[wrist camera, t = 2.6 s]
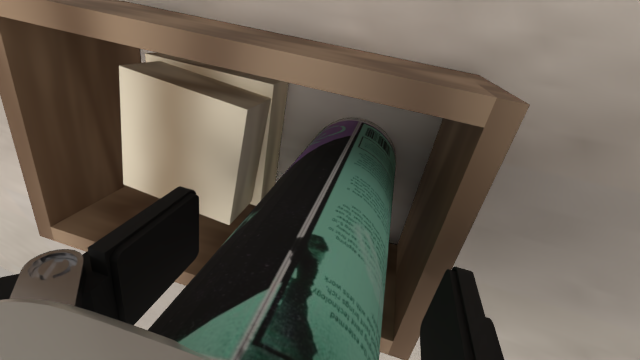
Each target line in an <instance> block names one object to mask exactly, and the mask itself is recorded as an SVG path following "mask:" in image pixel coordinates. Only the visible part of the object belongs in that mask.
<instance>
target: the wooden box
mask: <svg viewBox="0 0 640 360" xmlns="http://www.w3.org/2000/svg"><path fill="white" fill-rule="evenodd" d="M140 49H145V50H149V51H153V52H158V53H162V54H166V55H171V56H175V57H180V58H184V59H188V60H193V61H197V62H201V63H206V64H210V65H214V66H219V67H223V68H227V69H232V70H236V71H240V72H245V73H249V74H253V75H258V76H262V77H267V78H271V79H275V80H280V81H284V82H288V83H293V84H297V85H301V86H306V87H310V88H314V89H319V90H323V91H327V92H332V93H336V94H340V95H345V96H349V97H353V98H358V99H362V100H367V101H371V102H375V103H380V104H384V105H388V106H393V107H397V108H401V109H406V110H410V111H414V112H419V113H423V114H427V115H432V116H436V117H440V118H443V120H442V123H441V125H440V128H439V131H438V134H437V137H436V139H435V142H434V145H433V148H432V150H431V153H430V156H429V159H428V162H427V164H426V167H425V170H424V173H423V176H422V178H421V181H420V184H419V187H418V189H417V192H416V195H415V198H414V201H413V203H412V206H411V209H410V212H409V215H408V217H407V220H406V223H405V226H404V228H403V231H402V234H401V237H400V240H399V242H398V245H394V244H391V243H389V246H388V258H387V270H386V281H385V293H384V305H383V316H382V328H381V339H380V351H379V352H382V353H385V354H388V355H391V356H394V357H397V358H400V359H403V360H408V359H409V357H410V355H411V353H412V351H413V349H414V347H415V345H416V342H417V340H418V338H419V336H420V327H421V323H422V320H423V318H424V316H425V314H426V312H427V310H428V307H429V305H430V303H431V301H432V299H433V297H434V295H435V292H436V290H437V288H438V286H439V284H440V282H441V280H442V277H443V275H444V273H445V271H446V270H447V269H450V270H451V269H452V267H453V265H454V263H455V261H456V259H457V256H458V254H459V252H460V250H461V248H462V246H463V244H464V242H465V240H466V238H467V235H468V233H469V231H470V229H471V227H472V225H473V223H474V221H475V219H476V217H477V215H478V212H479V210H480V208H481V206H482V204H483V202H484V200H485V198H486V196H487V194H488V191H489V189H490V187H491V185H492V183H493V181H494V179H495V177H496V175H497V173H498V170H499V168H500V166H501V164H502V162H503V160H504V158H505V156H506V154H507V152H508V149H509V147H510V145H511V143H512V141H513V139H514V137H515V135H516V133H517V131H518V129H519V126H520V124H521V122H522V120H523V118H524V116H525V114H526V112H527V110H528V108H529V104H527V103H526V102H524V101H522V100H521V99H519V98H517V97H515V96H514V95H512V94H510V93H509V92H507V91H505V90H503V89H502V88H500V87H498V86H497V85H495V84H493V83H491V82H490V81H488V80H486V79H485V78H483V77H481V76H479V75H476V74H471V73H466V72H461V71H456V70H452V69H447V68H442V67H437V66H432V65H428V64H423V63H418V62H413V61H408V60H403V59H399V58H394V57H389V56H384V55H379V54H375V53H370V52H365V51H360V50H355V49H351V48H346V47H341V46H336V45H331V44H327V43H322V42H317V41H312V40H307V39H303V38H298V37H293V36H288V35H283V34H278V33H274V32H269V31H264V30H259V29H254V28H250V27H245V26H240V25H235V24H230V23H226V22H221V21H216V20H211V19H206V18H202V17H197V16H192V15H187V14H182V13H178V12H173V11H168V10H163V9H158V8H154V7H149V6H144V5H139V4H134V3H129V2H125V1H118V0H0V95H1V99H2V102H3V106H4V110H5V113H6V117H7V120H8V124H9V127H10V131H11V134H12V138H13V141H14V145H15V149H16V152H17V156H18V159H19V163H20V166H21V170H22V173H23V177H24V181H25V184H26V188H27V191H28V195H29V198H30V202H31V205H32V209H33V213H34V216H35V220H36V223H37V227H38V230H39V234H40V236H42V237H45V238H48V239H51V240H54V241H57V242H60V243H63V244H66V245H69V246H71V247H74V248H77V249H80V250H83V251H86V252H87V251H88V247H89V246H91V245H92V244H94V243H95V242H97V241H98V240H99V239H101V238H102V237H104V236H105V235H107V234H108V233H110V232H111V231H113V230H114V229H116V228H117V227H119V226H120V225H122V224H123V223H125V222H126V221H128V220H129V219H131V218H132V217H134V216H135V215H137V214H138V213H140V212H141V211H143V210H144V209H146V208H147V207H149V206H150V205H152V204H153V203H155V202H156V201H157V200H159V199H160V198H157V197H155V196H152V195H150V194H147V193H144V192H142V191H139V190H137V189H134V188H132V187H129V186H126V185H124V184H123V164H122V136H121V109H120V82H119V65H128V64H137V63H141V60H140ZM255 207H256V206H255V205H252V204H249V205H248V206H247V207H246V208H245V209H244V210H243V211H242V212H241V213H240V214H239V215H238V217H237V218H236V219H235V220H234V221H233V222H232V223H231V224H230V225H227V224H225V223H222V222H220V221H217V220H214V219H212V218H209V217H207V216H204V215H201V214H199V253H198V256H197V257H196V259H195V260H194V261H193V262H192V263H191V264H190V265H189V266H188V268H187V269H186V270H185V271H184V272H183V273H182V274H181V275H180V276H179V277H178V278H177V279H176V280H175V281H174V282H177V283H180V284H183V285H186V286H187V285H188V284H189V282H190V281H191V280H192V279H193V278H194V277H195V276H196V274H197V273H198V272H199V271H200V270H201V269H202V267H203V266H204V265H205V264H206V263H207V262H208V261H209V259H210V258H211V257H212V256H213V255H214V254H215V253H216V251H217V250H218V249H219V248H220V247H221V246H222V245H223V243H224V242H225V241H226V240H227V239H228V238H229V237H230V235H231V234H232V233H233V232H234V231H235V230H236V228H237V227H238V226H239V225H240V224H241V223H242V222H243V220H244V219H245V218H246V217H247V216H248V215H249V214H250V212H251V211H252V210H253V209H254V208H255Z"/></svg>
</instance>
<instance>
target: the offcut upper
mask: <svg viewBox="0 0 640 360" xmlns="http://www.w3.org/2000/svg"><path fill="white" fill-rule="evenodd" d="M119 82H120V109H121V136H122V164H123V184H124V185H126V186H129V187H132V188H134V189H137V190H139V191H142V192H144V193H147V194H150V195H152V196H155V197H157V198H162V197H163V196H165V195H166V194H168V193H169V192H171V191H172V190H174V189H175V188H177V187H179V186H181V187H185V188H188V189H192V190H194V191H195V192H196V195H198V196H199V214H201V215H204V216H207V217H209V218H212V219H214V220H217V221H220V222H222V223H225V224H227V225H230V224H231V223H232V222H233V221H234V220H235V219H236V218H237V217H238V215H239V214H240V213H241V212H242V211H243V210H244V209H245V208H246V207H247V206H248V205H249V204H250V202H251V201H252V197H253V192H254V187H255V182H256V176H257V171H258V166H259V161H260V155H261V150H262V145H263V140H264V134H265V129H266V124H267V118H268V113H269V108H270V103H271V98H269V97H266V96H263V95H260V94H257V93H254V92H251V91H248V90H245V89H242V88H239V87H236V86H233V85H230V84H227V83H224V82H221V81H219V80H216V79H213V78H210V77H207V76H204V75H201V74H198V73H195V72H192V71H189V70H186V69H183V68H180V67H177V66H174V65H171V64H168V63H165V62H162V61H154V62H145V63H137V64H128V65H119Z"/></svg>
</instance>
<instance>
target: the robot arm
mask: <svg viewBox="0 0 640 360" xmlns="http://www.w3.org/2000/svg"><path fill="white" fill-rule="evenodd" d="M198 253H199V196H198V195H196V192H195V191H194V190H192V189H188V188H185V187H181V186H179V187H177V188H175V189H174V190H172V191H171V192H169V193H168V194H166V195H165V196H163V197H162V198H160V199H159V200H157V201H156V202H155V203H153V204H152V205H150V206H149V207H147V208H146V209H144V210H143V211H141V212H140V213H138V214H137V215H135V216H134V217H132V218H131V219H129V220H128V221H126V222H125V223H123V224H122V225H120V226H119V227H117V228H116V229H114V230H113V231H111V232H110V233H108V234H107V235H105V236H104V237H102V238H101V239H99V240H98V241H97V242H95V243H94V244H92V245H91V246H89V247H88V251H87V252H86V253H84V254H83V255H82V254H81V253H80V252H77V251H75V250H70V249H59V250H54V251H49V252H46V253H43V254H40V255H38V256H36V257H35V258H33V259H31V260H30V261H29V262H27V263H26V264H25V265H24V267H23V268H22V270H21V272H20V274H16V275H11V276H6V277H1V278H0V360H213V359H210V358H208V357H206V356H204V355H202V354H199V353H197V352H195V351H193V350H191V349H189V348H187V347H185V346H184V345H182V344H180V343H178V342H176V341H174V340H172V339H169V338H167V337H164V336H161V335H158V334H156V333H153V332H150V331H147V330H145V329H142V328H139V327H136V326H134V324H135V323H136V322H137V321H138V320H139V319H140V318H141V317H142V316H143V315H144V314H145V313H146V311H147V310H148V309H149V308H150V307H151V306H152V305H153V304H154V303H155V302H156V301H157V300H158V299H159V298H160V296H161V295H162V294H163V293H164V292H165V291H166V290H167V289H168V288H169V287H170V286H171V285H172V284H173V283H174V281H175V280H176V279H177V278H178V277H179V276H180V275H181V274H182V273H183V272H184V271H185V270H186V269H187V268H188V266H189V265H190V264H191V263H192V262H193V261H194V260H195V259H196V257H197V256H198ZM420 346H421V360H504V357H503V354H502V351H501V347H500V344H499V341H498V337H497V334H496V331H495V327H494V324H493V322H492V320H491V319H490V318H487V317H485V314H484V310H483V307H482V303H481V300H480V296H479V292H478V289H477V285H476V282H475V278H474V274H473V272H471V271H468V270H465V269H461V268H458V267H453V268H452V270H450V269H447V270H446V271H445V273H444V275H443V277H442V280H441V282H440V284H439V286H438V288H437V290H436V292H435V295H434V297H433V299H432V301H431V303H430V305H429V307H428V310H427V312H426V314H425V316H424V318H423V320H422V323H421V327H420Z"/></svg>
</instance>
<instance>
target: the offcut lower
mask: <svg viewBox="0 0 640 360" xmlns="http://www.w3.org/2000/svg"><path fill="white" fill-rule="evenodd" d="M145 58H146V62H154V61H162V62H165V63H168V64H171V65H174V66H177V67H180V68H183V69H186V70H189V71H192V72H195V73H198V74H201V75H204V76H207V77H210V78H213V79H216V80H219V81H221V82H224V83H227V84H230V85H233V86H236V87H239V88H242V89H245V90H248V91H251V92H254V93H257V94H260V95H263V96H266V97H269V98H271V103H270V108H269V113H268V118H267V124H266V129H265V134H264V140H263V145H262V150H261V155H260V161H259V166H258V171H257V176H256V182H255V187H254V192H253V197H252V201H251V202H250V204H252V205H255V206H257V204H258V203H259V202H260V201H261V200H262V199H263V197H264V196H265V195H266V194H267V193H268V192H269V191H270V189H271V188H272V187H273V186H274V185H275V181H276V173H277V166H278V158H279V151H280V143H281V136H282V129H283V121H284V114H285V106H286V99H287V91H288V84H289V83H288V82H284V81H280V80H275V79H271V78H267V77H262V76H258V75H253V74H249V73H245V72H240V71H236V70H232V69H227V68H223V67H219V66H214V65H210V64H206V63H201V62H197V61H193V60H188V59H184V58H180V57H175V56H171V55H166V54H162V53H158V52H157V53H145Z"/></svg>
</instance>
